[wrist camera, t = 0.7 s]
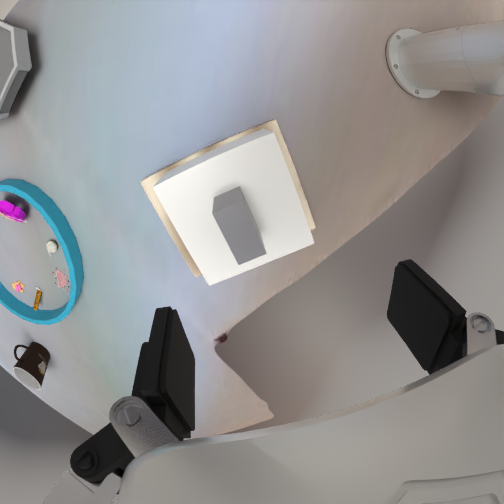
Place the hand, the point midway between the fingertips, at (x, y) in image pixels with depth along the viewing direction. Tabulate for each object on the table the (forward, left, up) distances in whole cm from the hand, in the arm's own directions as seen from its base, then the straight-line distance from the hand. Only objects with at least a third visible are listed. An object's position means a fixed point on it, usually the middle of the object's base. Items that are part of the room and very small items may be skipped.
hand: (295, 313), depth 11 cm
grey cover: (+3, +3, -29) cm, 29 cm away
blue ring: (+45, -6, -31) cm, 55 cm away
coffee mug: (+64, +15, -31) cm, 72 cm away
